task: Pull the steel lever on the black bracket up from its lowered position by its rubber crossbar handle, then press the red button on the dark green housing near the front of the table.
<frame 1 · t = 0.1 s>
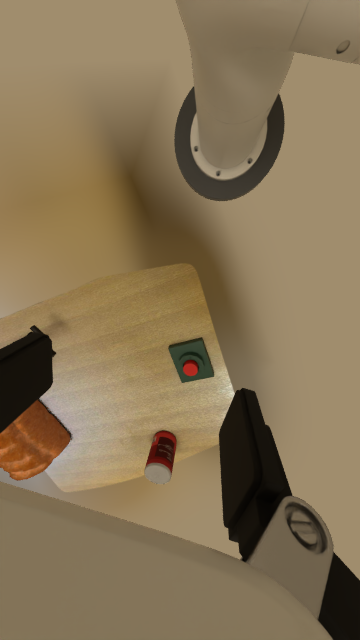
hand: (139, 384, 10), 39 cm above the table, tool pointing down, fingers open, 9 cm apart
canned food: (165, 438, 66), on the table
button: (190, 367, 50), point 4 cm above the table, slide at 0.1 cm
lever: (16, 357, 49), point 10 cm above the table, hinge at -15.0°
bread: (39, 416, 71), on the table
button box: (191, 359, 54), on the table
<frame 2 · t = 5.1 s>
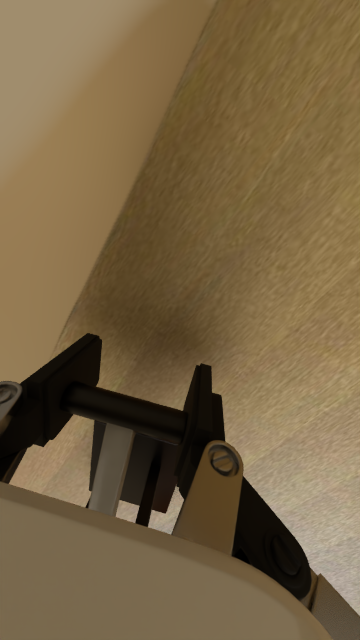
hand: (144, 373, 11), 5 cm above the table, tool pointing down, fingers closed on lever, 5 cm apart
bracket: (137, 460, 21), on the table
lever: (87, 574, 9), point 10 cm above the table, hinge at -15.0°, touching gripper
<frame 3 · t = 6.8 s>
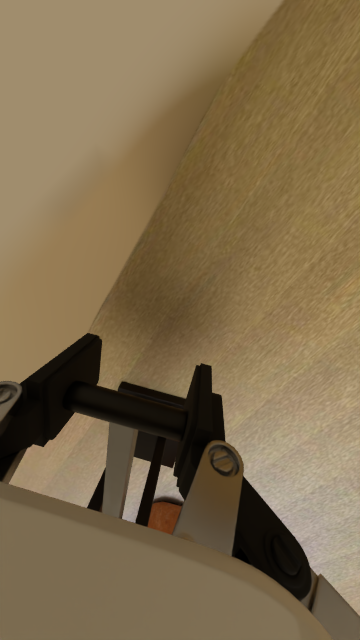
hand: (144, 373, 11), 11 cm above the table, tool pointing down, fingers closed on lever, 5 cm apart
bracket: (149, 423, 27), on the table
lever: (114, 504, 12), point 13 cm above the table, hinge at 4.4°, touching gripper
bread: (215, 539, 34), on the table
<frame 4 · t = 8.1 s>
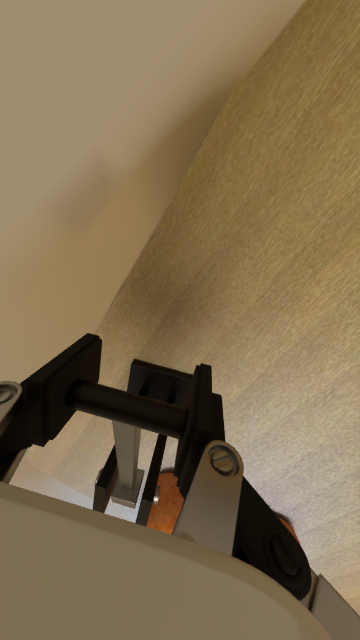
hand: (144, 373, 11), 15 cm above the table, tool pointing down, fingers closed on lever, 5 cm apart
bracket: (157, 397, 30), on the table
lever: (128, 463, 14), point 14 cm above the table, hinge at 19.2°, touching gripper
bread: (215, 509, 38), on the table
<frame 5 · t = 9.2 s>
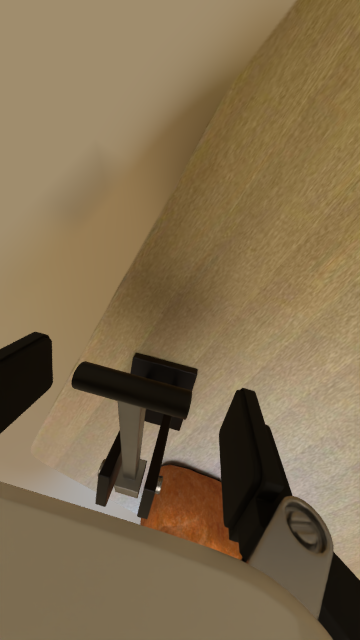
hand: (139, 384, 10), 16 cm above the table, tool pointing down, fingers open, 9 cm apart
bracket: (159, 390, 30), on the table
lever: (131, 450, 14), point 14 cm above the table, hinge at 18.5°
bread: (216, 501, 38), on the table
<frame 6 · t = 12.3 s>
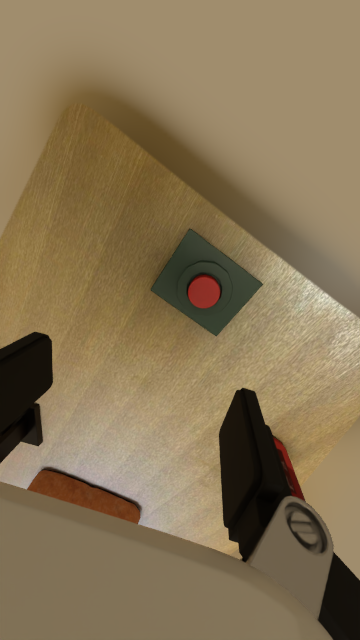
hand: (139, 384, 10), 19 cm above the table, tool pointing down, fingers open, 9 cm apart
canned food: (262, 448, 37), on the table
bracket: (20, 418, 42), on the table
button: (203, 291, 23), point 4 cm above the table, slide at 0.1 cm
bread: (88, 496, 50), on the table
button box: (204, 284, 27), on the table
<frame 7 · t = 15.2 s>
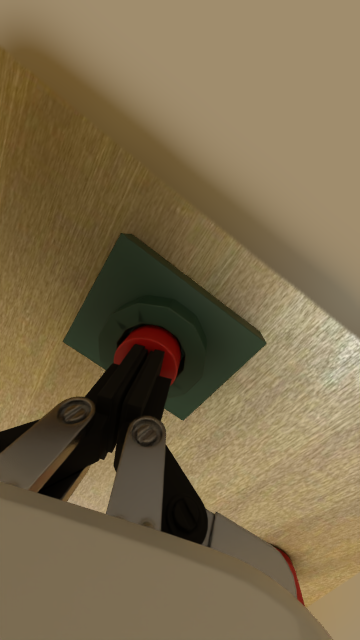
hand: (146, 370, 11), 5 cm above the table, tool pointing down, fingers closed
button: (149, 358, 12), point 4 cm above the table, slide at -0.1 cm, touching gripper
button box: (162, 332, 15), on the table
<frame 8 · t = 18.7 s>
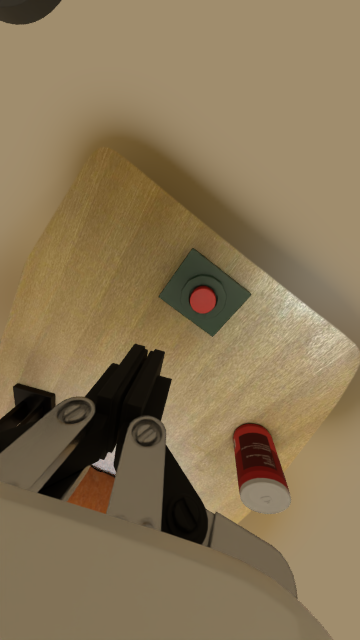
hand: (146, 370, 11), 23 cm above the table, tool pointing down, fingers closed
canned food: (251, 435, 42), on the table
bracket: (37, 406, 47), on the table
button: (202, 299, 29), point 4 cm above the table, slide at 0.1 cm
bread: (94, 480, 55), on the table
button box: (203, 293, 32), on the table
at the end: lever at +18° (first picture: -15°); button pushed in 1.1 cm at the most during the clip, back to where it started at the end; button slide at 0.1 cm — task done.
